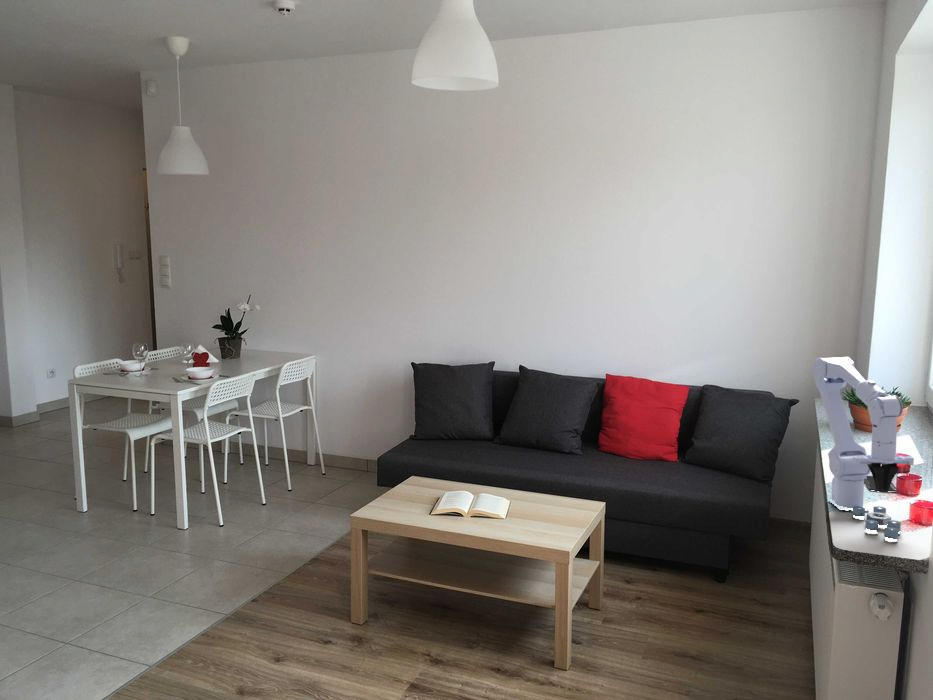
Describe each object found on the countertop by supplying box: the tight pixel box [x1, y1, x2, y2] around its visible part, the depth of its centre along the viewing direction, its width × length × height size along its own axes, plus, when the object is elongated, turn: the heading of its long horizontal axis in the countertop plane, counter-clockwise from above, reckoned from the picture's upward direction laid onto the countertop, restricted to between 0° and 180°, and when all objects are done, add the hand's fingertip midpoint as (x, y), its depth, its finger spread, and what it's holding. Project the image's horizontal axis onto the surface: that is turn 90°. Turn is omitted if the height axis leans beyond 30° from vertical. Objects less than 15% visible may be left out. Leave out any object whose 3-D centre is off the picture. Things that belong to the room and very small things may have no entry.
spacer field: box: [852, 505, 902, 539], centre depth 201 cm, size 20×10×3 cm, turn 174°
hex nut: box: [866, 511, 892, 525], centre depth 204 cm, size 6×5×3 cm
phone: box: [864, 475, 897, 492], centre depth 239 cm, size 8×1×15 cm
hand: (882, 490), depth 204 cm, fingers closed
